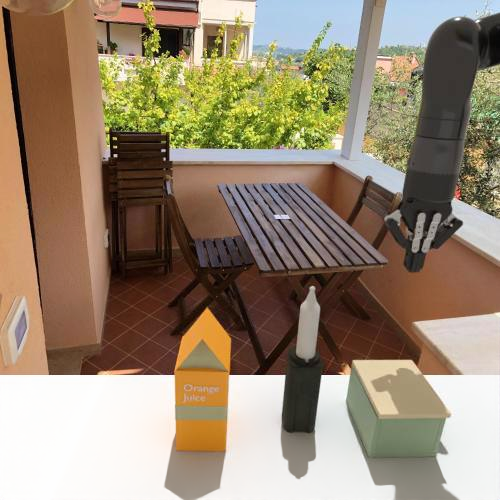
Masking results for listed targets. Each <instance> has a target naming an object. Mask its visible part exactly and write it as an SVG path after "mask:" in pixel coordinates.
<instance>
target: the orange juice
mask: <svg viewBox="0 0 500 500" xmlns="http://www.w3.org/2000/svg"><path fill="white" fill-rule="evenodd" d="M231 350H232V338H231V337H230V335H229V333H228V332H227V331H226V330H225V329H224V327H223V326H222V325H221V324H220V322H219V321H218V319H217V318H216V317H215V315H214V314H213V312H211V310H210V309H209V307H206V308H205V309H204V311H203V312H202V313H200V316H199V317H198V318H197V319H196V321H194V323H193V324H192V325H191V327H190V328H189V329H188V330H187V331H186V332H185V334H184V335H183V336H182V338H181V341H180V345H179V350H178V354H177V358H176V363H175V368H174V371H173V372H174V420H175V449H176V451H180V452H181V451H185V452H227V439H228V438H227V435H228V413H229V388H230V373H231V352H232V351H231Z"/></svg>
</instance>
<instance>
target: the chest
mask: <svg viewBox="0 0 500 500" xmlns="http://www.w3.org/2000/svg"><path fill="white" fill-rule="evenodd" d="M348 379H349V380H348V386H347V393H346V398H345V401H346V404H347V407H348V409H349V411H350V413H351V416H352V419H353V421H354V424H355V427H356V429H357V431H358V434H359V436H360V439H361V442H362V444H363V447H364V449H365V452H366V454H367V456H368V458H369V459H376V458H419V457H420V458H422V457H437V455H438V454H437V453H438V450H439V446H440V442H441V439H442V435H443V432H444V428H445V424H446V420H447V418H401V419H379V417H378V415H377V413H376V411H375V409H374V407H373V405H372V403H371V401H370V399H369V397H368V395H367V393H366V391H365V389H364V387H363V385H362V383H361V381H360V379H359V377H358V375H357V373H356V371H355V369H354V367H353V365H352V364H351V367H350V374H349V378H348Z"/></svg>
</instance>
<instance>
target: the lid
mask: <svg viewBox="0 0 500 500" xmlns="http://www.w3.org/2000/svg"><path fill="white" fill-rule="evenodd" d="M352 365H353V367H354V369H355V371H356V373H357V375H358V377H359V379H360V381H361V383H362V385H363V387H364V389H365V391H366V393H367V395H368V397H369V399H370V401H371V403H372V405H373V407H374V409H375V411H376V413H377V415H378V417H379V419H401V418H446V419H451V417H452V413H451V411H450V410H449V408H448V407H447V406H446V405H445V403H444V402H443V400H442V399H441V397H440V396H439V395H438V394H437V392H436V391H435V390H434V388H433V387H432V385H431V384H430V382H429V381H428V380H427V379H426V377H425V376H424V374H423V373H422V372H421V370H420V369H419V368H418V366H417V365H416V363H415V362H414V361H413V359H353V360H351V366H352Z"/></svg>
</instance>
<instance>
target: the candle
mask: <svg viewBox="0 0 500 500" xmlns="http://www.w3.org/2000/svg"><path fill="white" fill-rule="evenodd" d="M315 291H316V286H313V285H311V286H310V287H309V292H308V293H307V296H306V298H305V300H304V301H302V303H301V304H300V309H299V317H298V327H297V328H298V329H297V339H296V345H294V346H293V347H291V348H289V349H288V350H287V354H286V363H285V364H286V365H285V366H286V367H285V375H284V385H283V387H284V388H283V398H282V407H281V408H282V411H281V419H282V424H283V425H282V427H283V429H284V430H285V432H287V433H290V434H291V433H308V434H309V433H310V434H311V433H313V432H315V429H316V423H317V422H316V421H317V415H318V406H319V397H320V396H319V395H320V390H321V383H322V376H323V375H322V374H323V367H324V363H323V359H322V357H321V353H320V351H319V350H318V349H317V348H316V347H317V339H318V332H319V322H320V315H321V306H320V304H319V302H318V301H317V296H316V292H315Z"/></svg>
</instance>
